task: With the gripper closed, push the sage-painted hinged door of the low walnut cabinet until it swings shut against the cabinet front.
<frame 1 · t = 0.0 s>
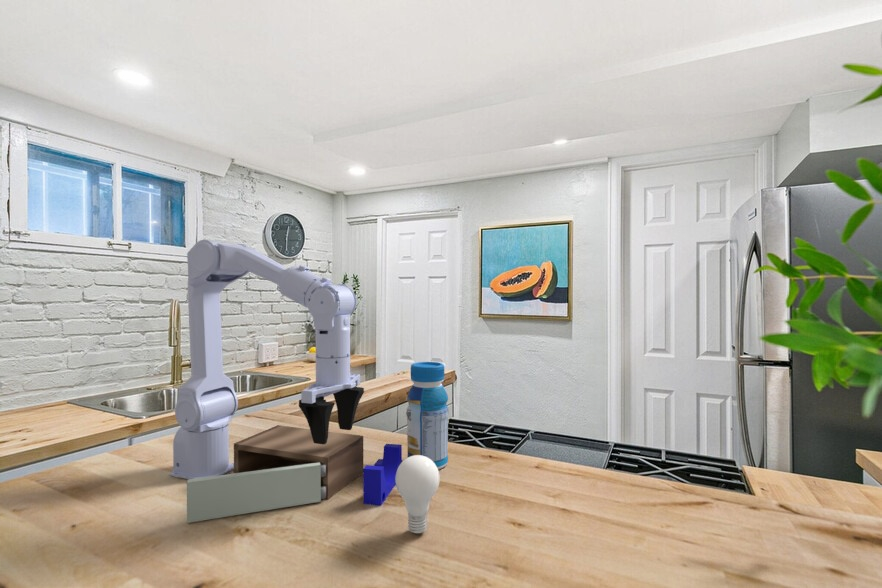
hand: (333, 435, 76), 10 cm above the worktop, fingers open, 7 cm apart
beverage bottle: (427, 464, 90), on the worktop
cabinet: (299, 477, 84), on the worktop
cable clip: (379, 490, 79), on the worktop
cabinet door: (260, 490, 71), point 3 cm above the worktop, hinge at 40.0°
lightbulb: (417, 534, 65), on the worktop
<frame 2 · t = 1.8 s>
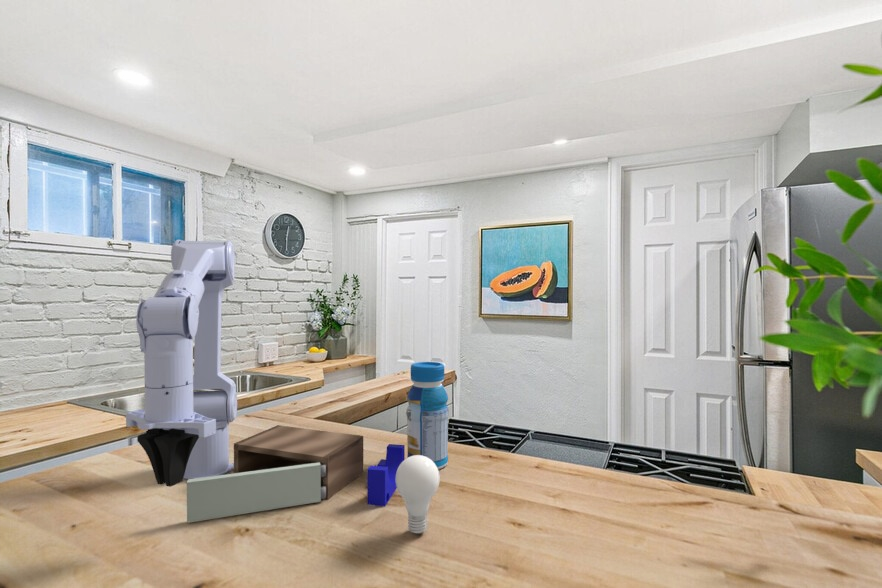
hand: (170, 482, 62), 8 cm above the worktop, fingers closed
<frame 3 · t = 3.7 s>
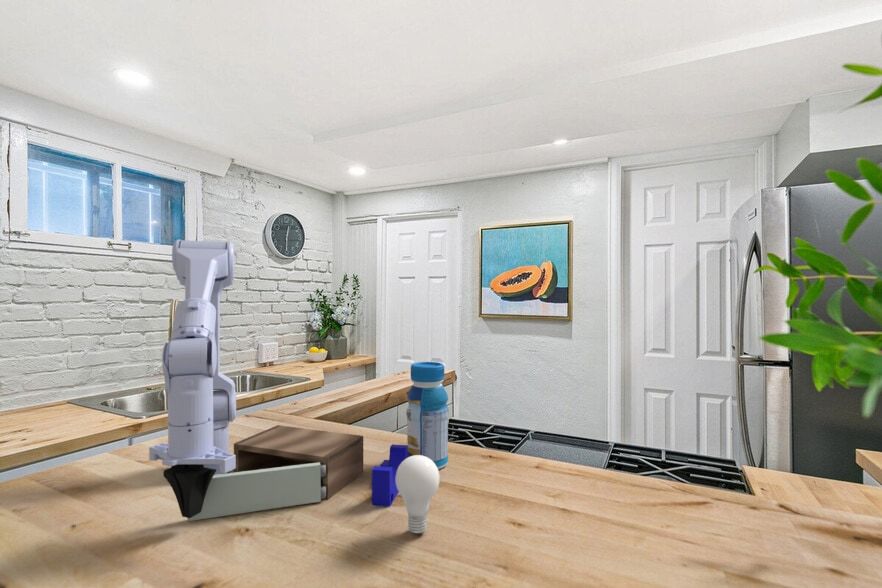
hand: (191, 514, 65), 2 cm above the worktop, fingers closed
cabinet door: (260, 489, 71), point 3 cm above the worktop, hinge at 38.4°, touching gripper
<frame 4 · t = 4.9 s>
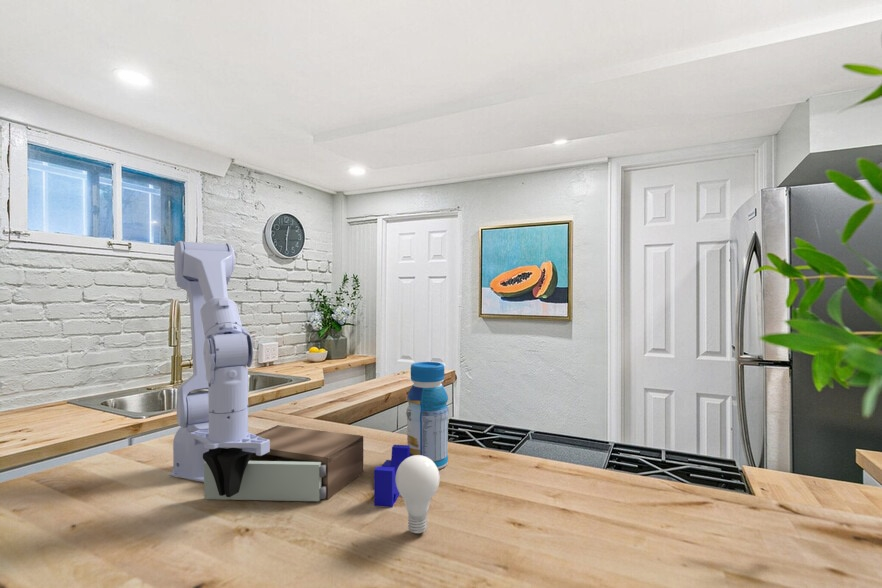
hand: (229, 493, 72), 2 cm above the worktop, fingers closed
cabinet door: (265, 480, 74), point 3 cm above the worktop, hinge at 17.3°, touching gripper
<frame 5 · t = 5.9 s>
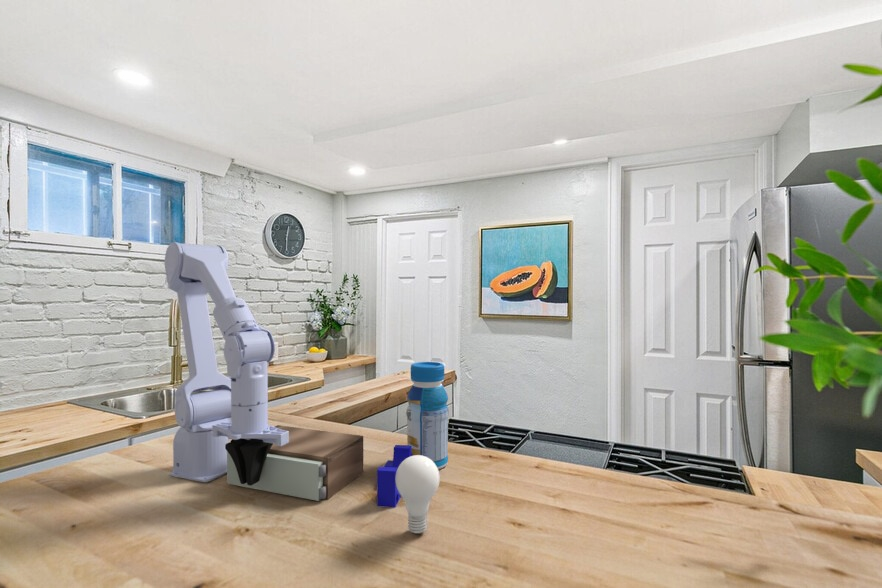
hand: (250, 482, 76), 2 cm above the worktop, fingers closed, pressing on cabinet door
cabinet door: (275, 473, 77), point 3 cm above the worktop, hinge at -0.2°, touching gripper
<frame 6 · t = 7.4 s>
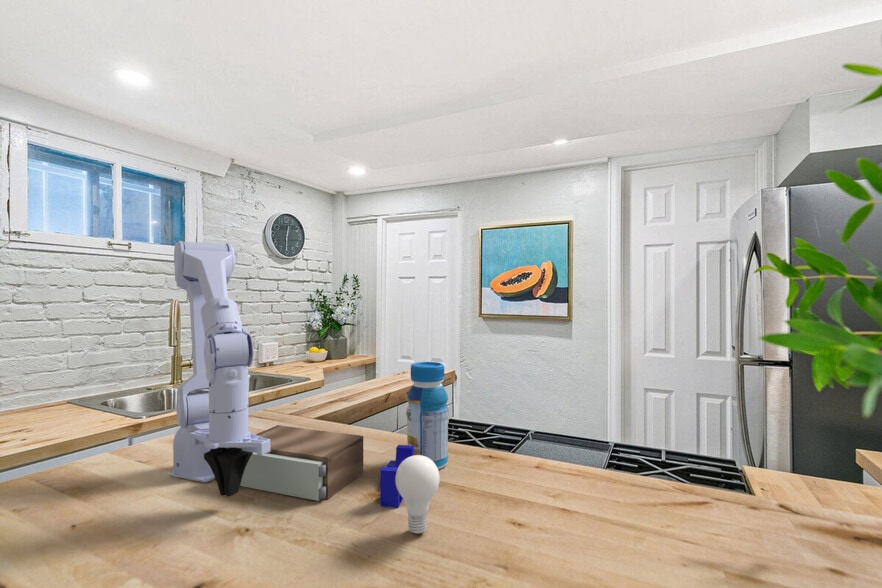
hand: (229, 493, 72), 2 cm above the worktop, fingers closed
cabinet door: (275, 473, 77), point 3 cm above the worktop, hinge at -0.4°
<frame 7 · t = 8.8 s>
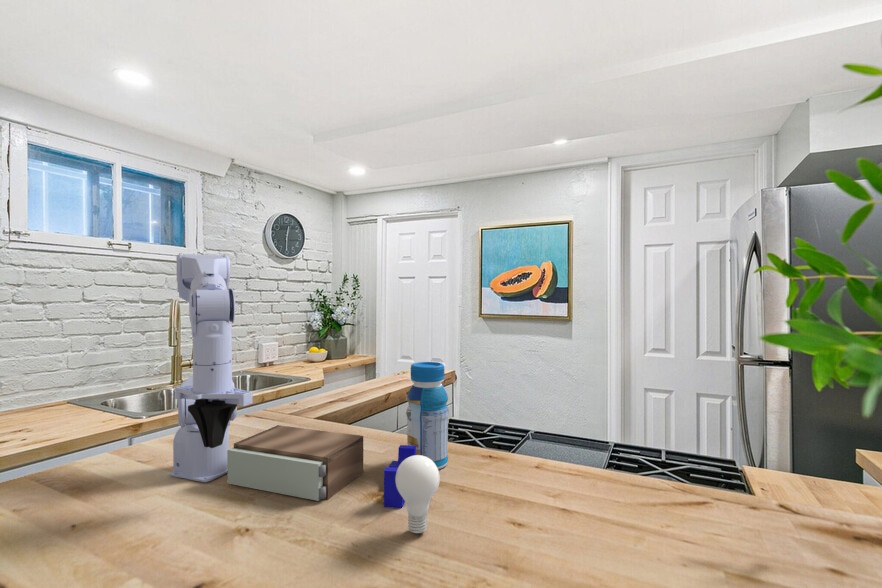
hand: (213, 445, 74), 9 cm above the worktop, fingers closed
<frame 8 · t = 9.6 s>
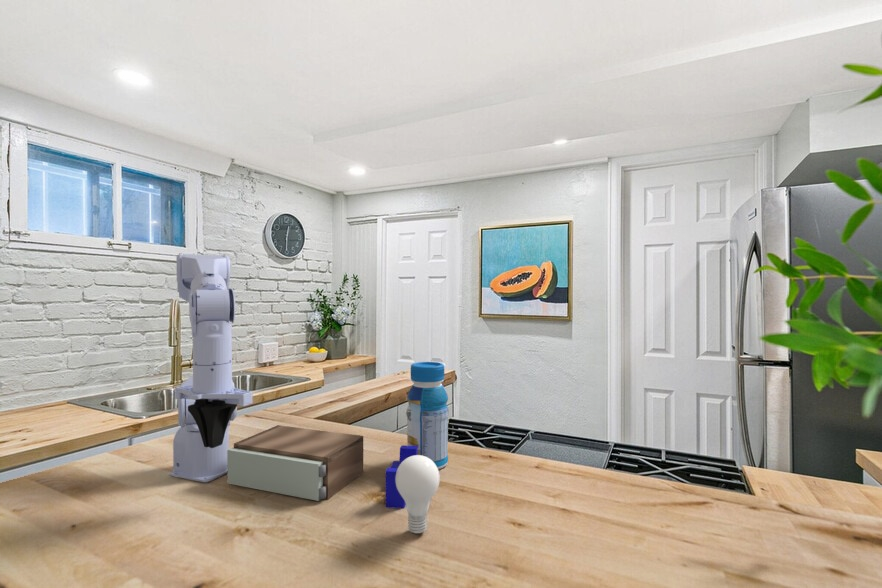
hand: (213, 445, 74), 9 cm above the worktop, fingers closed
at the end: cabinet door at +0° (first picture: +40°) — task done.
